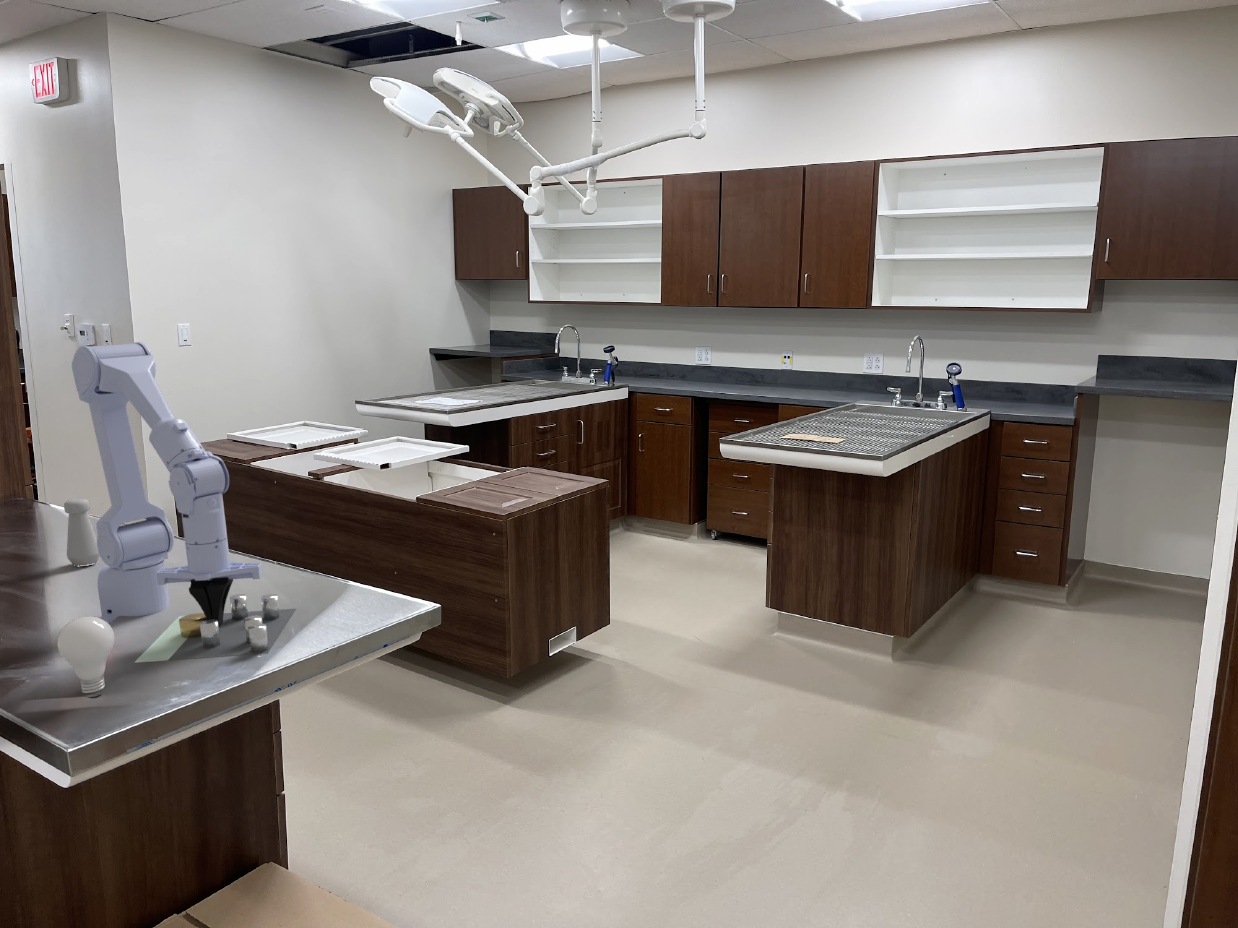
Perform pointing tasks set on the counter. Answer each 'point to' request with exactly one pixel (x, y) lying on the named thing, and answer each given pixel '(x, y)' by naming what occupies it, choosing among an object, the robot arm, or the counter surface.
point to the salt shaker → (80, 533)
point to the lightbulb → (87, 650)
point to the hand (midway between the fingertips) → (216, 625)
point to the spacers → (253, 624)
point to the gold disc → (191, 625)
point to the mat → (230, 639)
